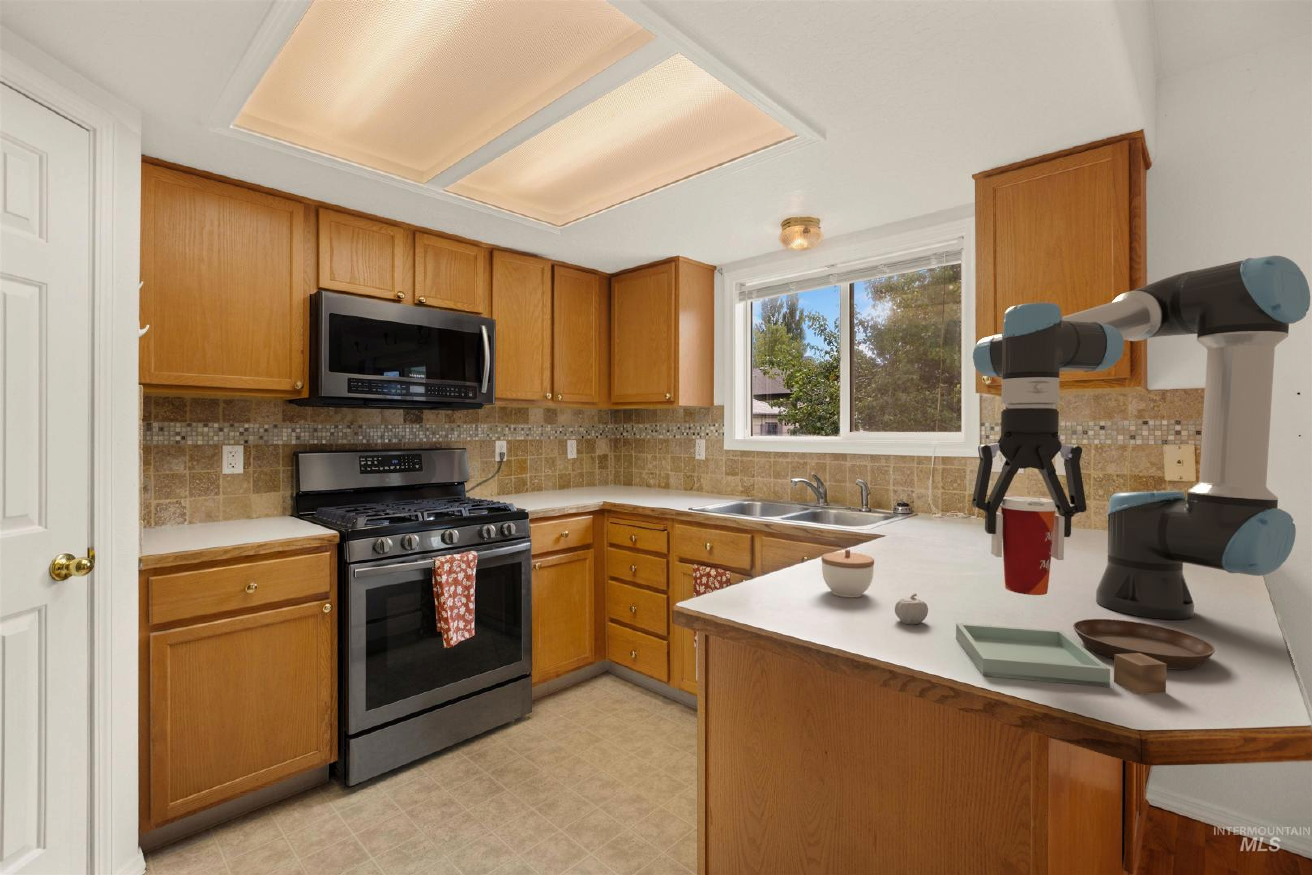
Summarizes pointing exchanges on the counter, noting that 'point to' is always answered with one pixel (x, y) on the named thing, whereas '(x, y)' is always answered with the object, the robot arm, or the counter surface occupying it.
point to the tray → (1031, 655)
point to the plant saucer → (1144, 642)
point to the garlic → (911, 610)
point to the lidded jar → (847, 573)
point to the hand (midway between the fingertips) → (1026, 556)
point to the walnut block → (1140, 673)
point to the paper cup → (1027, 543)
